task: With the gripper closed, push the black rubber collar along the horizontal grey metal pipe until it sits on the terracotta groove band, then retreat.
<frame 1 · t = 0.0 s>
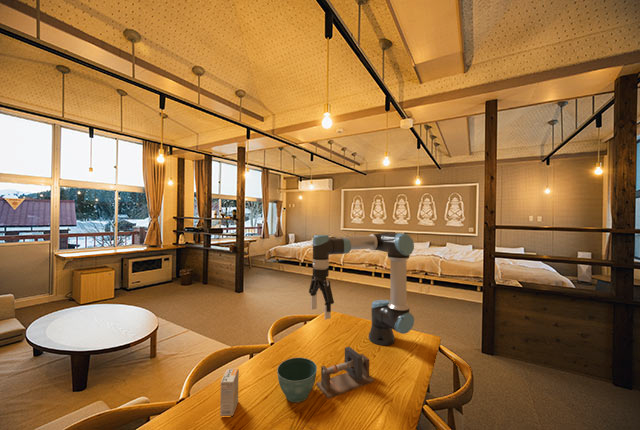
hand: (320, 313, 117), 28 cm above the table, fingers open, 13 cm apart
supplement box: (229, 410, 94), on the table
flower pot: (296, 395, 103), on the table
pipe stand: (345, 383, 111), on the table
ring: (353, 363, 113), point 8 cm above the table, slide at 0.0 cm
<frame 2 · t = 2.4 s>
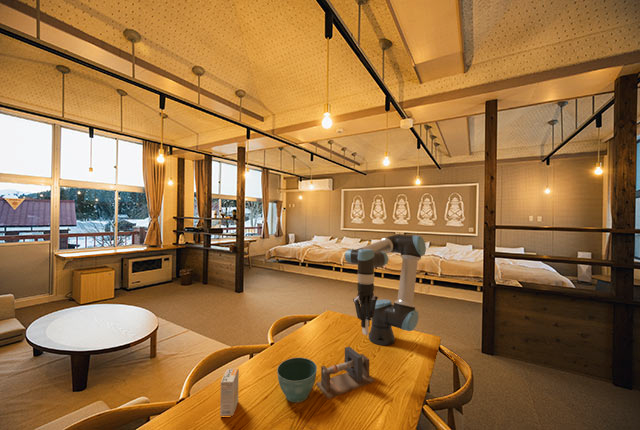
hand: (365, 333, 116), 19 cm above the table, fingers closed
nothing on the table moved.
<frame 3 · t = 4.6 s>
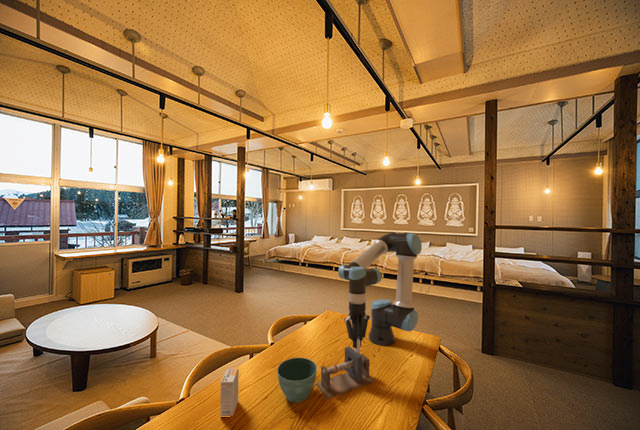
hand: (356, 354, 114), 11 cm above the table, fingers closed
ring: (353, 363, 113), point 8 cm above the table, slide at 0.0 cm, touching gripper
everything else where it was.
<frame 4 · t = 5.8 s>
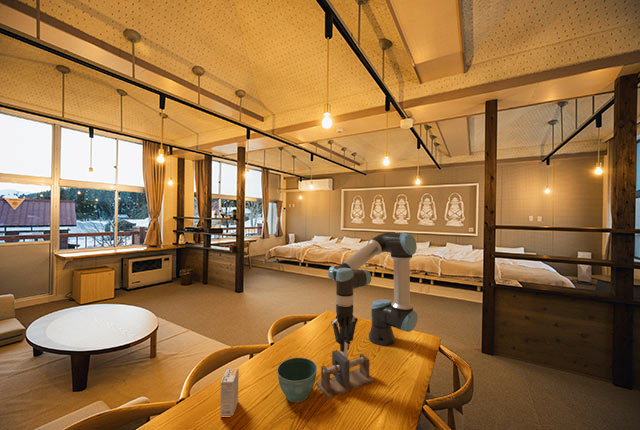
hand: (344, 358, 110), 11 cm above the table, fingers closed
ring: (340, 367, 109), point 8 cm above the table, slide at 6.8 cm, touching gripper
everything else where it was.
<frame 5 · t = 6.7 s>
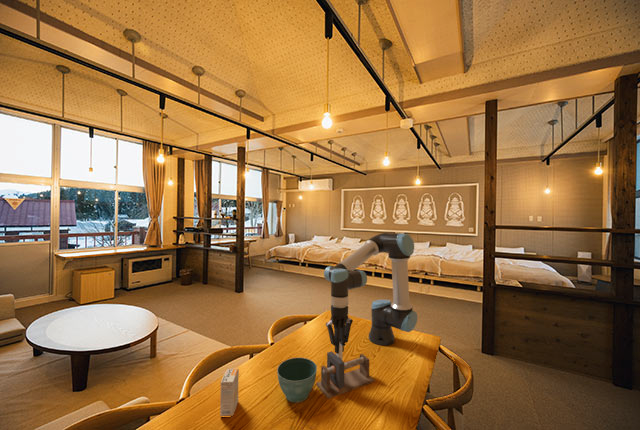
hand: (339, 359, 109), 11 cm above the table, fingers closed
ring: (335, 369, 108), point 7 cm above the table, slide at 9.4 cm, touching gripper
everything else where it was.
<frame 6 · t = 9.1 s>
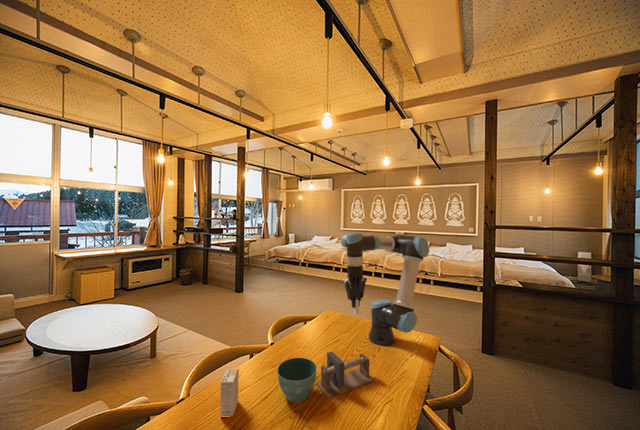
hand: (355, 313, 121), 27 cm above the table, fingers closed
ring: (335, 369, 108), point 7 cm above the table, slide at 9.4 cm
everything else where it was.
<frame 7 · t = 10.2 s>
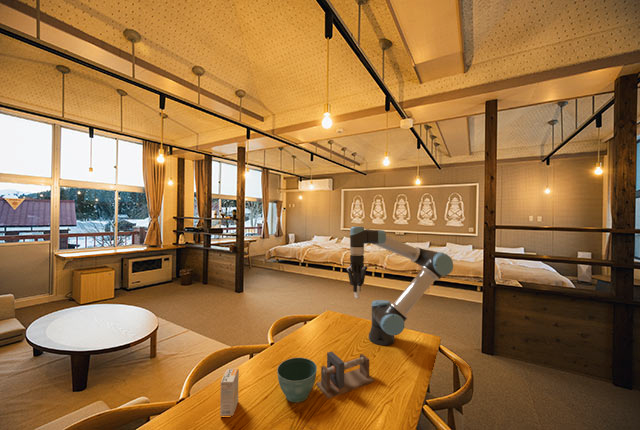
hand: (356, 297, 137), 29 cm above the table, fingers closed
nothing on the table moved.
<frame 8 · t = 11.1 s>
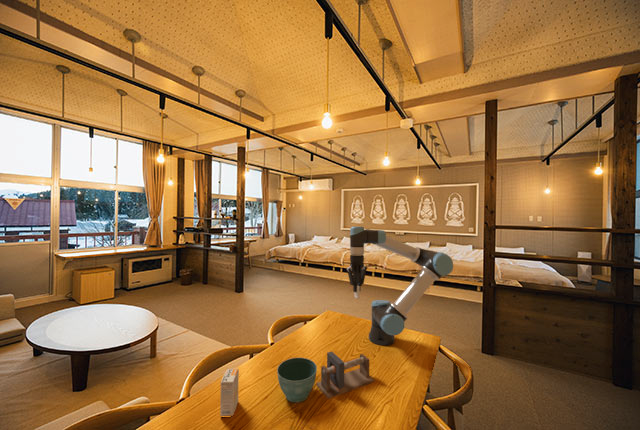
hand: (356, 297, 137), 29 cm above the table, fingers closed
nothing on the table moved.
at the end: ring slide at 9.4 cm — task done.
